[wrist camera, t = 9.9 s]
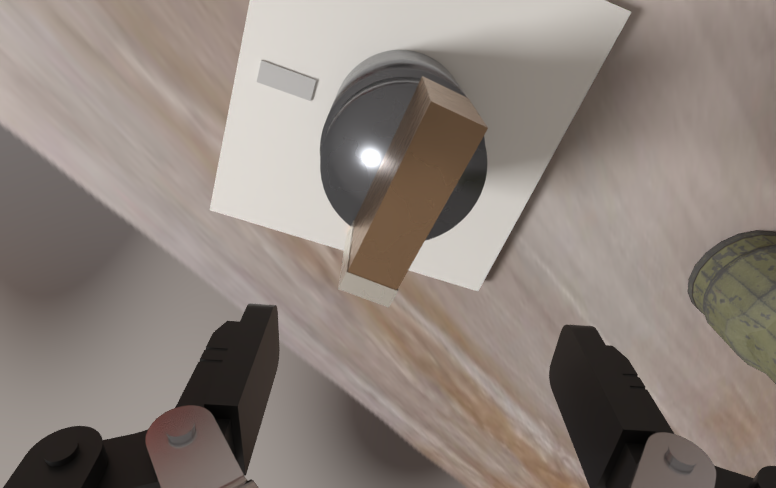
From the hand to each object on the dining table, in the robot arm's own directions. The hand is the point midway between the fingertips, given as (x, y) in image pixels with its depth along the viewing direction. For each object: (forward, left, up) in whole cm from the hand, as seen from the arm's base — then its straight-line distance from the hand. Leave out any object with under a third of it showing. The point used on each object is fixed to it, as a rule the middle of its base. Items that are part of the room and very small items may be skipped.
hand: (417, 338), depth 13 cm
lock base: (0, 0, -23) cm, 23 cm away
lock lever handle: (0, 0, -14) cm, 14 cm away
